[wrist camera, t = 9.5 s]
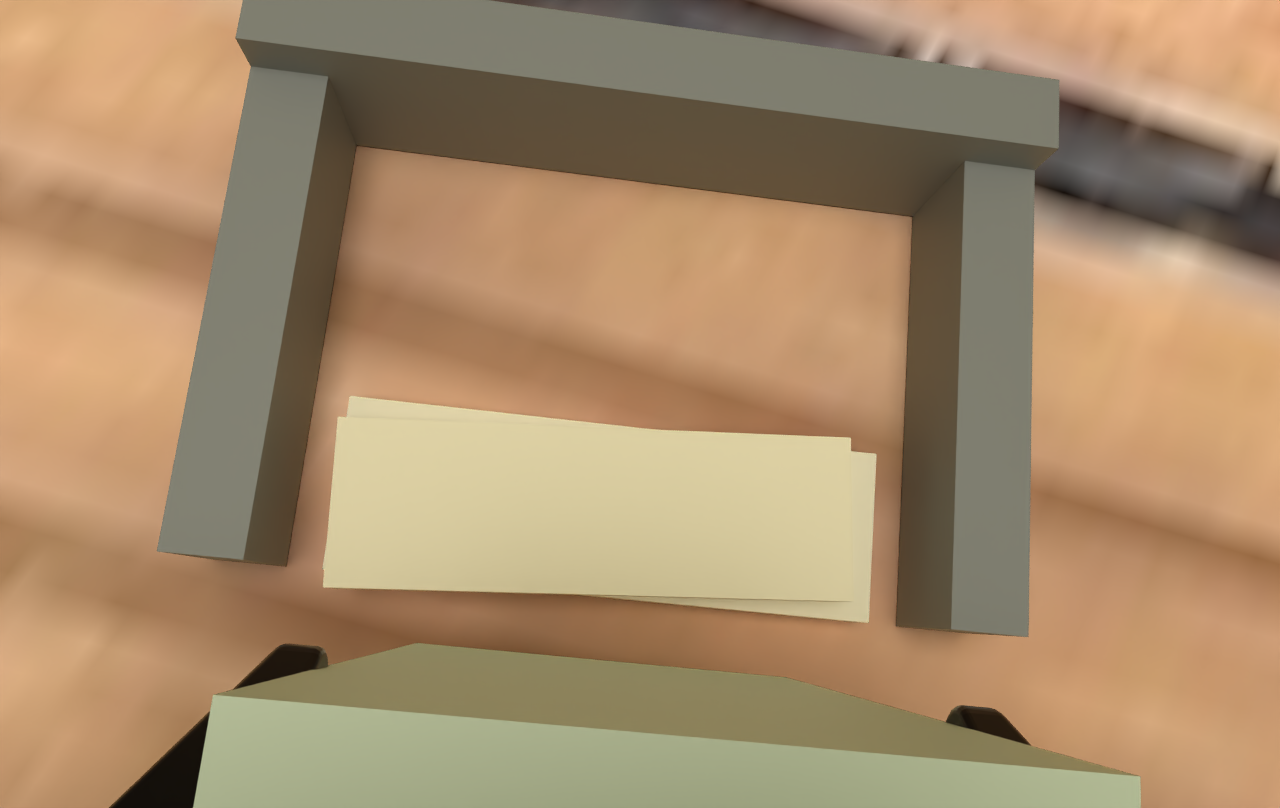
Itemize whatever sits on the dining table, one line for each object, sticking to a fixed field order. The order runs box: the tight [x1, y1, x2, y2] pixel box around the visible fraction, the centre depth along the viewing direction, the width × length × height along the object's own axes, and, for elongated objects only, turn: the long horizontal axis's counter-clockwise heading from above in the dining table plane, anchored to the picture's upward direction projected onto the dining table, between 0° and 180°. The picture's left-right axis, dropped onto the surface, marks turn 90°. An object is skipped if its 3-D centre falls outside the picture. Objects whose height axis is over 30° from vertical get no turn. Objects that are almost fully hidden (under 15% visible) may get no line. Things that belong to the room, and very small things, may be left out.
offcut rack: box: [157, 0, 1059, 637], centre depth 20 cm, size 11×16×4 cm
